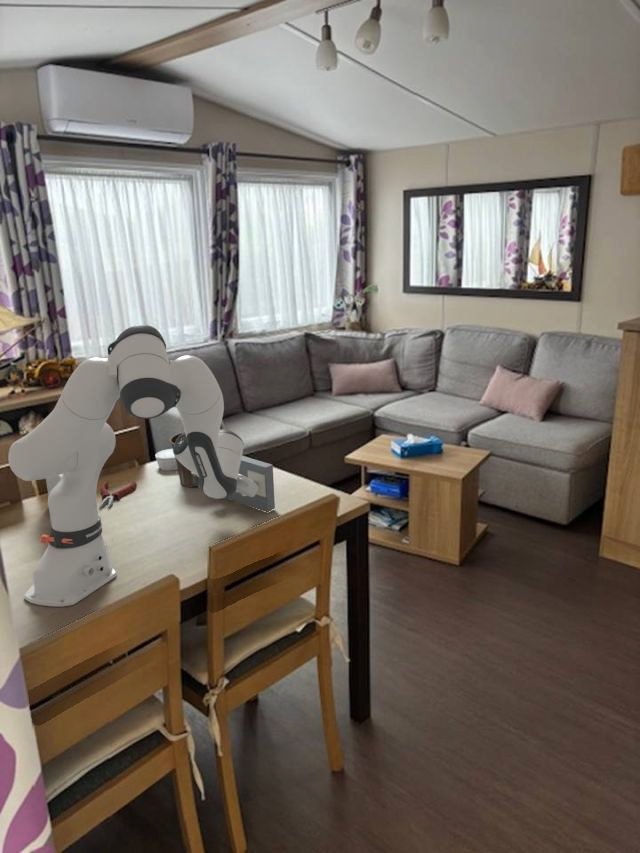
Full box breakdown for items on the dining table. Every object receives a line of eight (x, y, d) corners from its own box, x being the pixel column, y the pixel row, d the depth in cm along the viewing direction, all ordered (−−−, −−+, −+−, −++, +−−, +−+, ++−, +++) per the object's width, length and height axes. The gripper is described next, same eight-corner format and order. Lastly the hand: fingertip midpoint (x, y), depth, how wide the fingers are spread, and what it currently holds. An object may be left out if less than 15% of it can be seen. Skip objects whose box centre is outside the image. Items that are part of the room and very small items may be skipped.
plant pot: (199, 493, 210) (195, 447, 205) (164, 485, 218) (159, 440, 213) (230, 477, 223) (227, 434, 218) (196, 470, 231) (192, 427, 226)
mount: (266, 514, 193) (264, 468, 189) (215, 495, 208) (211, 452, 204) (274, 510, 196) (272, 464, 191) (223, 491, 211) (220, 449, 206)
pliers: (85, 512, 199) (84, 504, 198) (104, 487, 218) (103, 480, 217) (122, 511, 199) (121, 503, 198) (138, 486, 218) (137, 479, 218)
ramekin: (150, 467, 235) (149, 454, 233) (174, 459, 243) (173, 446, 241) (169, 474, 228) (167, 460, 226) (193, 465, 236) (192, 452, 235)
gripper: (246, 468, 173) (272, 491, 183) (198, 453, 186) (225, 475, 196) (235, 488, 171) (262, 510, 181) (187, 471, 184) (215, 492, 194)
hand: (242, 491), depth 189 cm, fingers closed, pressing on knob right
